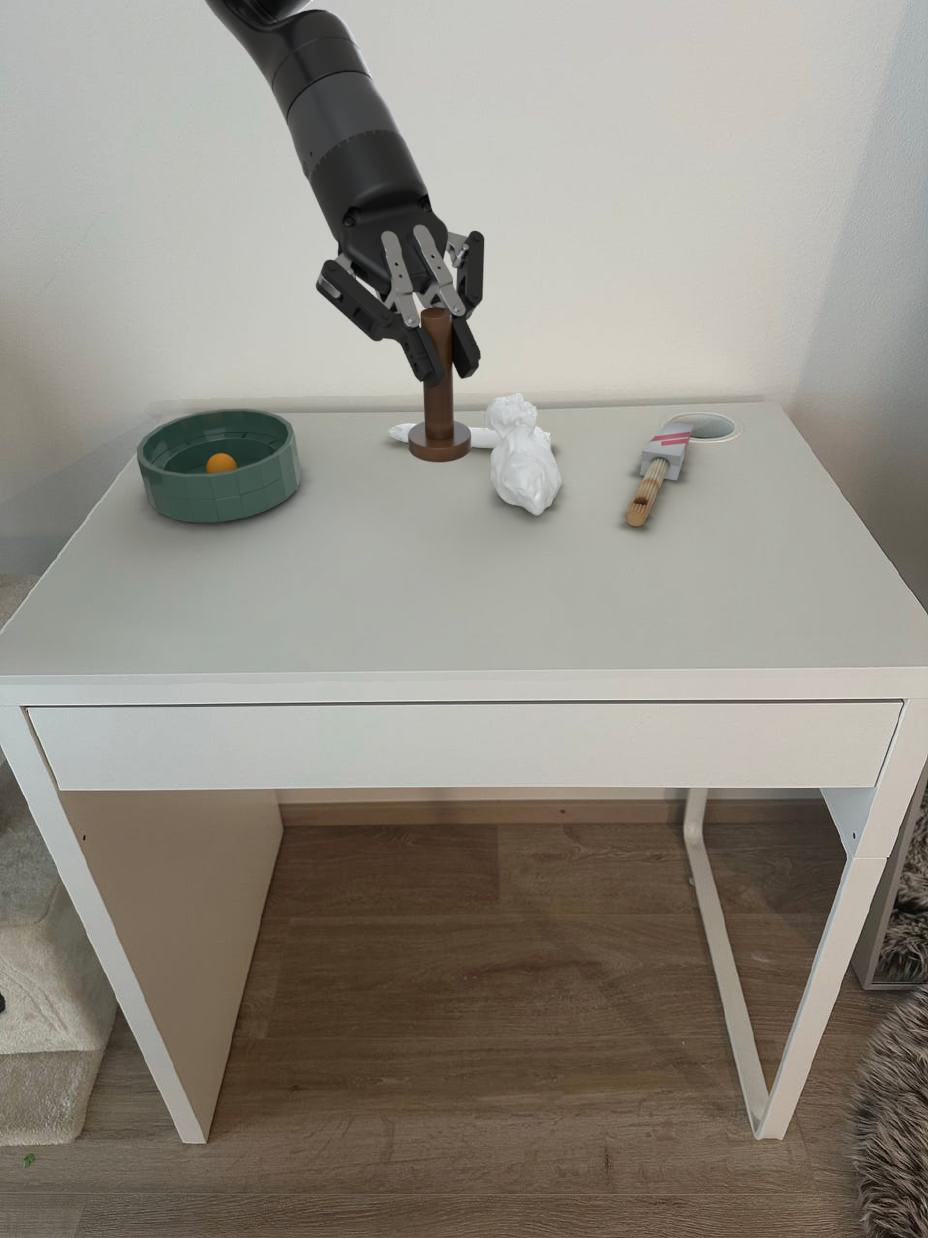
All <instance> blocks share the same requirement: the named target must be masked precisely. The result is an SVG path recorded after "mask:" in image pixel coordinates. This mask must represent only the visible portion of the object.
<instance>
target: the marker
mask: <svg viewBox="0 0 928 1238" xmlns="http://www.w3.org/2000/svg"><path fill="white" fill-rule="evenodd" d="M417 424H418V423H410V422H409V423H408V422H407V423H401V424H398V425H397V424H396V425H394V426H393V427H391V428H389V430H388V431H387V433H388V434H389V435H390V436H391V437H392V438H393V439H395V440H397V441H400V442H403V443H408V433H409V431H410V429H411V428H412V427H414V426H415V425H417ZM467 427H468V428H469V429H470V431H471V448H478V449H479V448H480V449H493V450H494V448H495V447H496V446H497V445H498V443H499V442H500V440H501V438H500V436H499V435H498V433H497V432H496V431H491V430H489V429H488V428H487V427H486V426H485V427H483V426H481V427H471V426H470V425H468V426H467ZM543 432H544V434H545V435H546V436H547V438H548V441H549V444H550V446H551V447H552V437H551V436H552V433H551V432H547V431H543Z"/></svg>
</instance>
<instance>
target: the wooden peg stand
mask: <svg viewBox="0 0 928 1238" xmlns="http://www.w3.org/2000/svg"><path fill="white" fill-rule="evenodd" d="M419 313H420V314H419V317H420V328H421V327H426V329H427V332H428V334H429V336H430V338H431V340H432V343H433V345H434V347H435V349H436V351H437V354H438V356H439V358H440V360H441V363H442V365H443V367H444V370H445V377H444V378H443V380H442V381H441V382H440V384H439V385H438V386H435V387H432V388H427V387H426V385H425V383H424V381H423V382H422V390H423V392H422V393H423V414H424V415H423V417H424V421H422V422H419V423H416V424H417V425H415V426H414V427H412V428H411V429H410V431H409V433H408V451H409V453H410V454H411V455H412V456H413V457H414V458H416V459H418V460H421V461H425V462H429V463H449V462H454V461H458V460H460V459H462V458H464V457H466V456H467V455H468V454H469V453H471V452H470V451H471V449H472V447H471V431H470V429H469V428H468V426H467V425H466V424H464V423H462V422H460V421H456V420H455V414H454V413H455V409H454V407H455V406H454V364H453V352H452V312H451V311H450V310H449V309H447V308H442V307H431V308H424V309H422V310H421V311H420V312H419Z"/></svg>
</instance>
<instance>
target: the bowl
mask: <svg viewBox="0 0 928 1238" xmlns="http://www.w3.org/2000/svg"><path fill="white" fill-rule="evenodd" d="M292 425H293V424H292V423H291V422H289V421H288V420H287V419H286V418H284V417H283V416H281V415H278V414H275V413H272V412H269V411H266V410H260V409H254V408H253V409H252V408H220V409H213V410H205V411H199V412H196V413H192V414H189V415H185V416H181V417H177V418H175V419H173V420H172V419H171V420H169V421H168V422H166V423H163V424H161V425H158V426H157V427H155V428H154V429H153V430H151V431H149V433H147V434H146V435H145V436H143V438H142V440H141V441H140V442H139V444H138V445H137V447H136V460H137V464H138V467H139V471H140V475H141V478H142V483H143V486H144V489H145V493H146V497H147V501H148V504H149V505H150V506H152V508H153V509H154V510H155V511H156V512H157V513H158V514H161V515H163V516H166V517H167V518H170V519H172V520H176V521H177V520H178V521H183V522H189V523H222V522H227V521H235V520H239V519H244V518H248V517H252V516H254V515H257V514H260V513H262V512H266V511H269V510H271V509H272V508H274V507H276V506H277V505H279V504H281V503H283V502H284V501H286V500H288V498H289V497H290V496H291V495H293V493H294V492H295V491H297V489H298V488H299V486H300V485H299V484H300V481H301V479H302V473H301V466H300V459H299V453H298V446H297V440H296V434H295V431H294V428H293V426H292ZM220 453H223V454H227V455H229V456H231V457H232V458H233V459H234V461H235V462H236V465H237V469H235V470H229V471H223V472H217V473H211V474H208V473H207V468H206V467H207V462H208V460H209V459H210V458H211V457H212V456H214V455H216V454H220Z"/></svg>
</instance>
